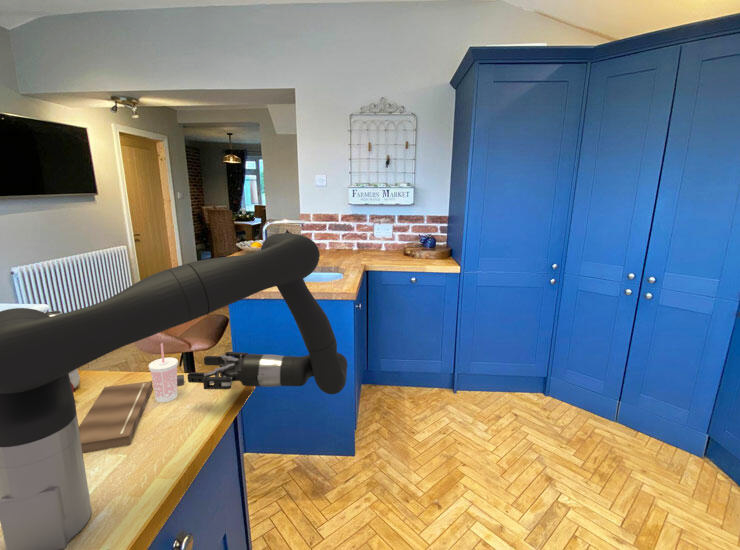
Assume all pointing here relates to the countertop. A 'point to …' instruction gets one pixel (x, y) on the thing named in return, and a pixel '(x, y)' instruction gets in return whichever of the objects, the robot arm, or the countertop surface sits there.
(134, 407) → the walnut board
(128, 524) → the countertop surface
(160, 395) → the beverage cup
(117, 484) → the countertop surface
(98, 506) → the countertop surface
